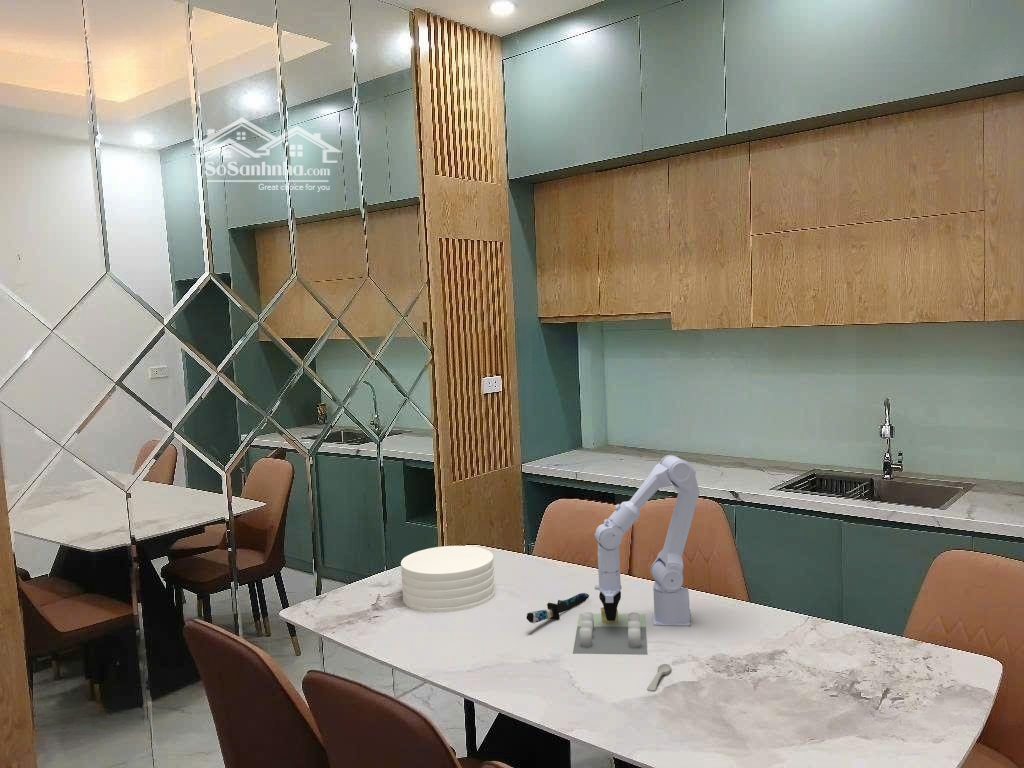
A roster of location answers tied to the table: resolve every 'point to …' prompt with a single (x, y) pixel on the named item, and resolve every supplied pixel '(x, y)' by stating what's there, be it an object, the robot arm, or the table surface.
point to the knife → (556, 608)
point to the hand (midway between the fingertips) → (611, 619)
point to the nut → (604, 619)
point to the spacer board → (611, 635)
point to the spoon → (662, 670)
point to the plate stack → (448, 578)
